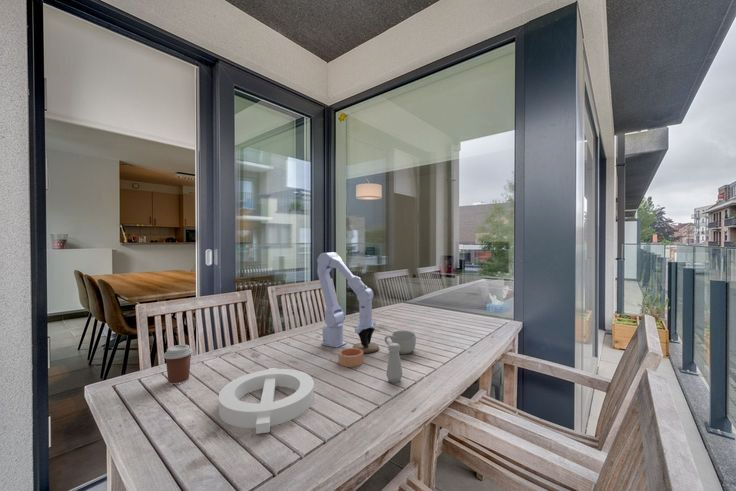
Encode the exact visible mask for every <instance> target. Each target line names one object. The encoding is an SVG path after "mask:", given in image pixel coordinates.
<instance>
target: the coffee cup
mask: <svg viewBox="0 0 736 491" xmlns="http://www.w3.org/2000/svg"><path fill="white" fill-rule="evenodd" d="M193 353H194V351H193V348H191V347H190V345H188V344H177V345H173V346H170V347H168V348H167V349H166V352H164V353H163V359H165V364H166V371H167V381H168V383H169V385H170V384H178V385H180V384H179V383H182V384H184V383H183V382H185V383H187V382H189V380H190V372H191V371H190V369H191V356H192V354H193ZM186 381H187V382H186Z"/></svg>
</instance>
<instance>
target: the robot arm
mask: <svg viewBox="0 0 736 491" xmlns="http://www.w3.org/2000/svg"><path fill="white" fill-rule="evenodd" d="M316 261H317V269H316V272H317V276H318V280H319V285H320V288H321V290H322V295H323V298H324V302H325V307H326V308H325V311H324V312H323V313H324V322H325V325H324V326H323V328H322V343H321V345H322V346H326V347H332V348H336V349H337V348H339V347H342V346H344V345H347V343H348V342H347V341H344V322H345V321H346V313H345V312H344V311H343V309H342V306H340V305H339V303H338V300H337V297H336V293H335V289H334V286H333V282H332V278H331V275H330V273H331V271H332V270H333V269H337V271H338V272H340V274H341V275H342V276H343V277H344V278H345V279H346V280H347V285H348V286H349V287H350V288H351V290H352V291H353V292H354V294H355V295H356V299H357V301H358V304H359V306H358V307H359V308H358V309H359V311H358V312H359V314H358V315H359V318H358V319H359V322H358V325H357V327H355V328H354V333H355V334H356V333H357V335H358V336H359V339H360V343H361V344H362V346H366V345H367V338H368V344H370V343H371V340H372V337H373V334H374V331H375V326H376V324H377V323H376V320H373V305H372V304H373V303H372V302H373V299H374V297H375V296H374V295H375V294H374V291H373V289H372V288H371V287H368V286H367V285H366V284H365V283H364V282H363V281H362V278H361V277H360V276H358V275H354V274H353V273H352V271H351V270H350V269H349V268H348V266H347V265H346V264H345V263H344V261H343V260H342V257H341V256H339V254H338V253H337V252H334V251H331V252H322V253H320V254H319V256H318V257H317V258H316Z"/></svg>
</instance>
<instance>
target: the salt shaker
mask: <svg viewBox="0 0 736 491" xmlns="http://www.w3.org/2000/svg"><path fill="white" fill-rule="evenodd" d="M389 343H390V342H389ZM387 346H388V347H387V348H388V349H387V350H388V352H389V354H388V360H387V368H386V373H385V375H386V378H387V379H388V382H389V383H393V384H398V383H400V382H401V380H402V377H403V373H404V372H403V367H402V363H401V357H400V353H399V351H400V345H399V344H397V343H392V342H391V343H390V344H389V345H387Z"/></svg>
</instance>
